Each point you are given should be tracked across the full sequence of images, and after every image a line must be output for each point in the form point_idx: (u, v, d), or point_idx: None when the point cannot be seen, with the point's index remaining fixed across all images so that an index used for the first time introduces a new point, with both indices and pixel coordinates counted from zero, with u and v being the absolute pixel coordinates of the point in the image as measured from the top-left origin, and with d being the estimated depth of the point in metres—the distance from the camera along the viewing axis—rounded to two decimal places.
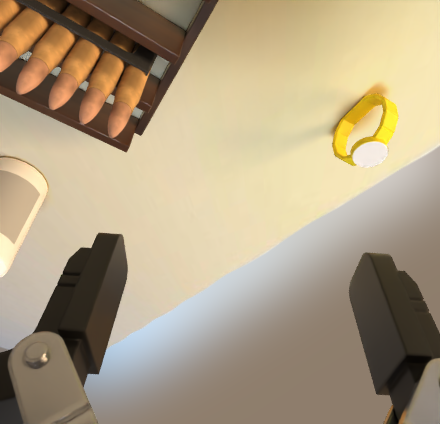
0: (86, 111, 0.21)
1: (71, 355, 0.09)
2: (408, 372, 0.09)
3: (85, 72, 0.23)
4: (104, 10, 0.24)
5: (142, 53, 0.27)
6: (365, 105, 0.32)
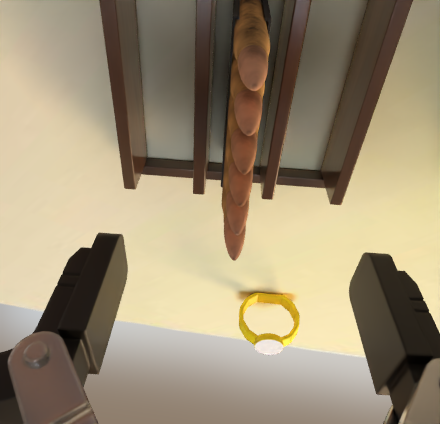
0: (244, 224, 0.18)
1: (71, 355, 0.09)
2: (408, 372, 0.09)
3: None
4: (286, 127, 0.22)
5: None
6: (277, 299, 0.39)
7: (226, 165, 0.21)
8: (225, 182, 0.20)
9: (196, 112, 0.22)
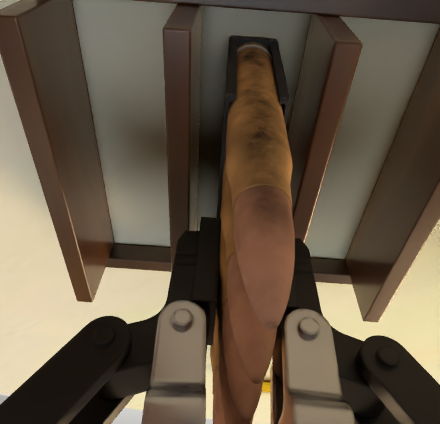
0: None
1: None
2: None
3: None
4: (306, 235, 0.15)
5: None
6: None
7: None
8: (215, 338, 0.13)
9: (172, 216, 0.15)
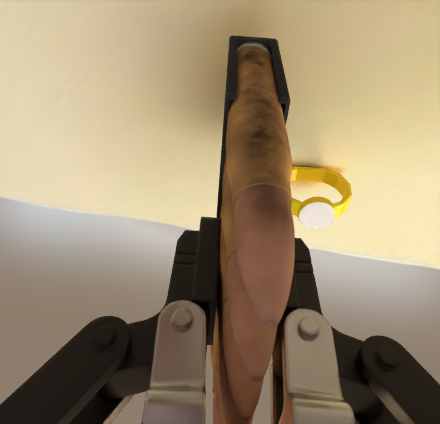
0: None
1: None
2: (279, 323, 0.10)
3: None
4: None
5: None
6: (321, 174, 0.32)
7: None
8: (215, 337, 0.13)
9: None
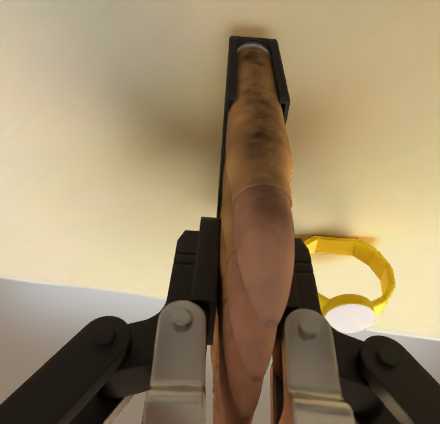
0: None
1: None
2: (279, 323, 0.10)
3: None
4: None
5: None
6: (349, 247, 0.24)
7: None
8: (215, 337, 0.13)
9: None
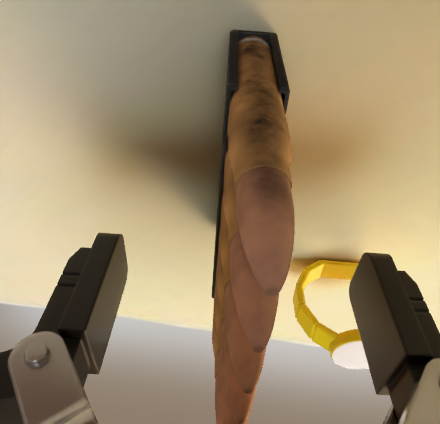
0: None
1: (71, 355, 0.09)
2: (408, 372, 0.09)
3: None
4: None
5: None
6: None
7: None
8: (217, 323, 0.13)
9: None
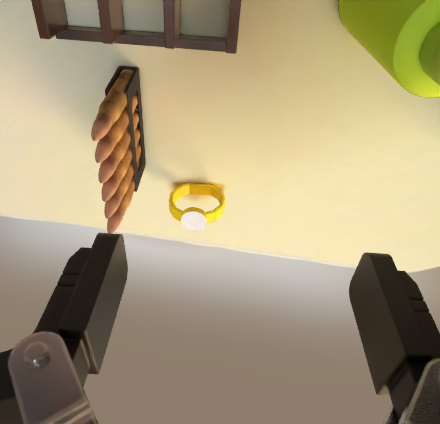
0: (113, 212, 0.30)
1: (71, 355, 0.09)
2: (408, 372, 0.09)
3: (122, 177, 0.32)
4: None
5: (139, 173, 0.38)
6: (207, 189, 0.42)
7: None
8: None
9: None
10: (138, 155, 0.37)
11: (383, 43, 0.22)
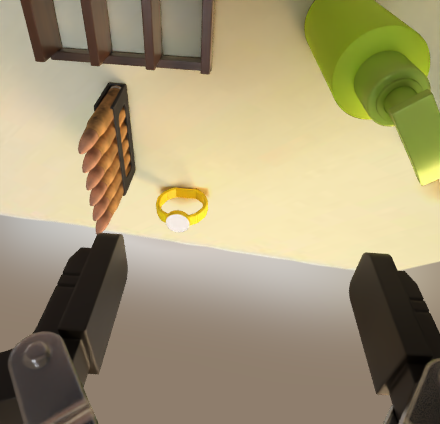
0: (100, 215, 0.34)
1: (71, 355, 0.09)
2: (408, 372, 0.09)
3: (109, 184, 0.36)
4: None
5: (128, 178, 0.41)
6: (192, 193, 0.46)
7: None
8: None
9: None
10: (127, 162, 0.41)
11: (327, 72, 0.25)
